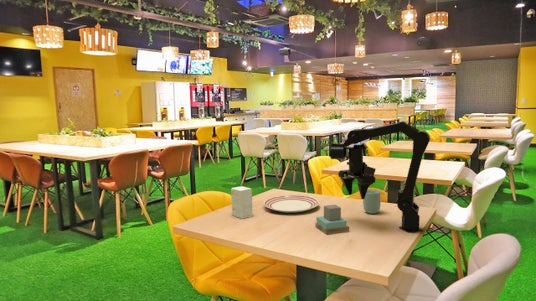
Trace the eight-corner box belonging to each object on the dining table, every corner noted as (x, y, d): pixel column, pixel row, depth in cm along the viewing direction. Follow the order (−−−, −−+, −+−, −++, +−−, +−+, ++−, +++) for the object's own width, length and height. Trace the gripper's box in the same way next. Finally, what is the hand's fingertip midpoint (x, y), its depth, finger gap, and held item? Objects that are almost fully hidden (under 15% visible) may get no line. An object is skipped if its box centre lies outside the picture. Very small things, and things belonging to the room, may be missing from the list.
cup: (382, 214, 171) (382, 193, 170) (365, 215, 171) (365, 193, 170) (377, 210, 179) (378, 189, 178) (361, 210, 179) (361, 189, 178)
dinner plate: (317, 217, 172) (317, 209, 171) (258, 215, 177) (257, 208, 177) (321, 201, 198) (321, 195, 198) (269, 200, 204) (269, 194, 203)
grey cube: (340, 219, 152) (340, 207, 151) (329, 221, 150) (329, 208, 150) (334, 216, 157) (334, 204, 156) (323, 217, 155) (323, 205, 154)
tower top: (346, 227, 150) (346, 221, 150) (325, 229, 148) (325, 223, 148) (336, 220, 159) (336, 214, 159) (316, 222, 157) (316, 217, 156)
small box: (253, 216, 175) (252, 188, 174) (241, 219, 171) (240, 190, 170) (242, 212, 181) (241, 185, 180) (231, 215, 177) (230, 187, 176)
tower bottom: (349, 233, 151) (349, 226, 150) (326, 236, 148) (326, 230, 147) (336, 225, 160) (336, 220, 160) (315, 228, 157) (315, 223, 157)
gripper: (386, 160, 151) (386, 199, 152) (359, 155, 168) (359, 190, 170) (362, 163, 147) (363, 202, 149) (337, 157, 164) (338, 193, 166)
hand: (356, 196), depth 158 cm, fingers open, 9 cm apart
